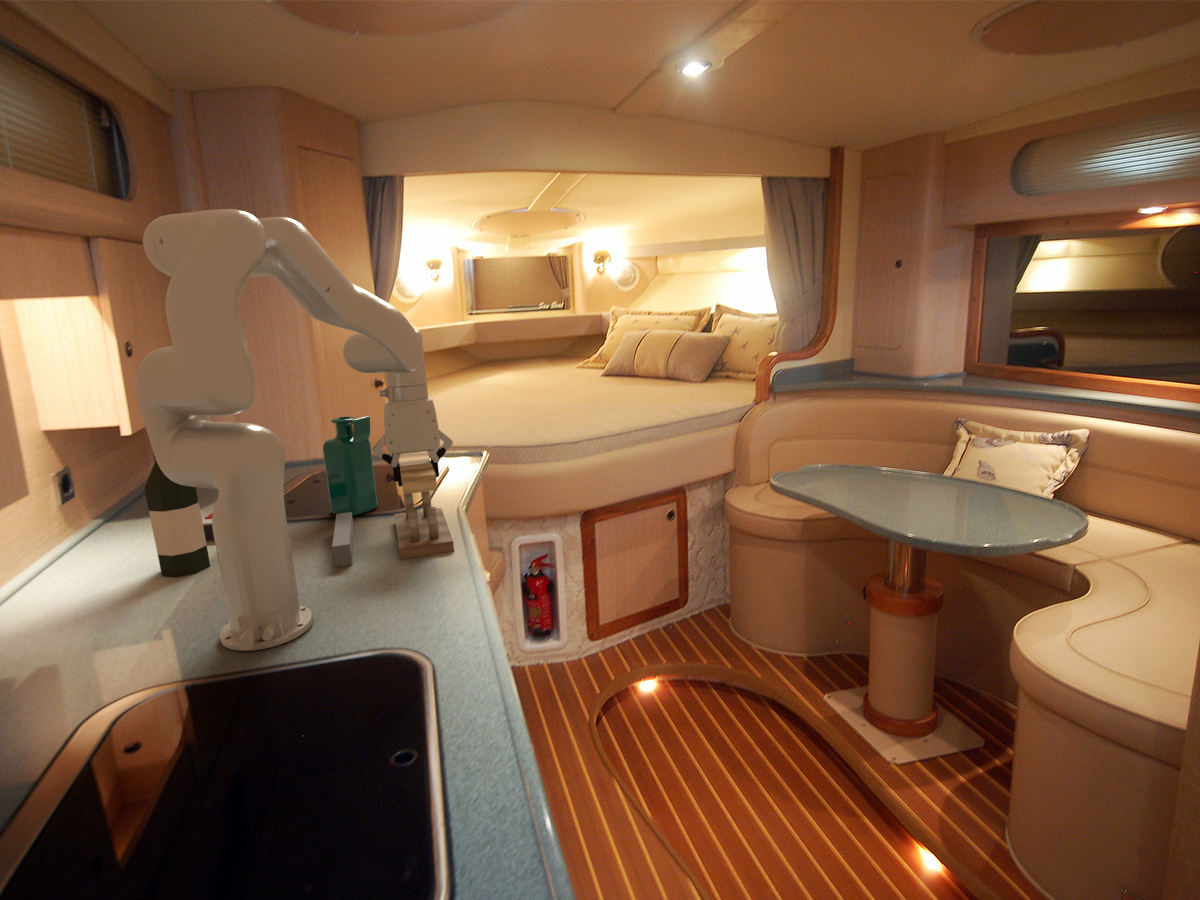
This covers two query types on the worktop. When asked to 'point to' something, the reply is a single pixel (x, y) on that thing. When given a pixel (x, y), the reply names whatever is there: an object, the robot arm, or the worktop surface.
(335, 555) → the block
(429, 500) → the peg stand
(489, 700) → the worktop surface
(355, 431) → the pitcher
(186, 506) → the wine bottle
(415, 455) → the wooden block
